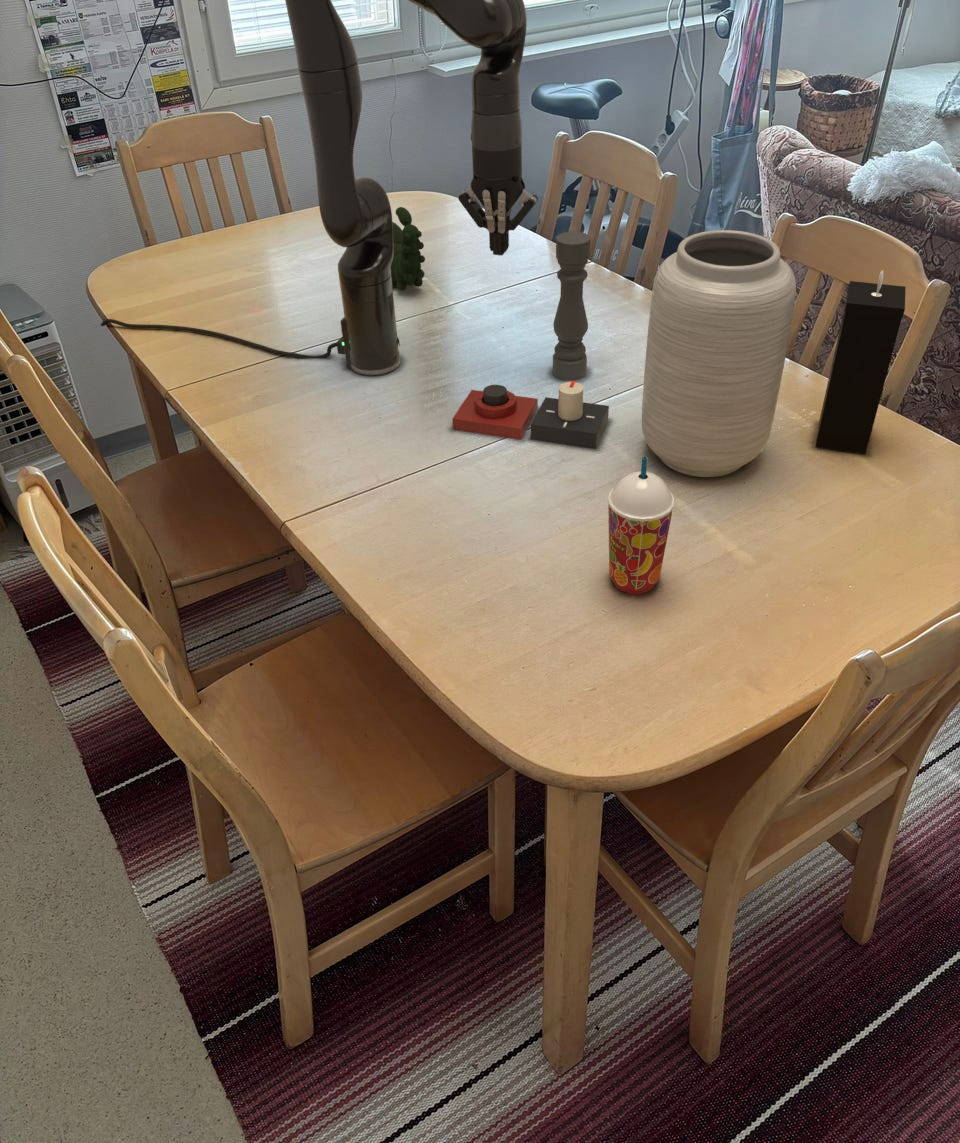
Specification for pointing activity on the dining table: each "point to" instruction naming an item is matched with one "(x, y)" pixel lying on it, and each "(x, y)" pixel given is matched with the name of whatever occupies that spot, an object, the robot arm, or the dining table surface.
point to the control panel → (569, 425)
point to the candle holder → (571, 306)
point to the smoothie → (638, 530)
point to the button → (495, 395)
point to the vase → (716, 351)
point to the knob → (570, 401)
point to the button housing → (496, 415)
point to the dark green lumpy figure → (406, 253)
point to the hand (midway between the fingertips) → (499, 253)
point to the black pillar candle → (860, 365)
